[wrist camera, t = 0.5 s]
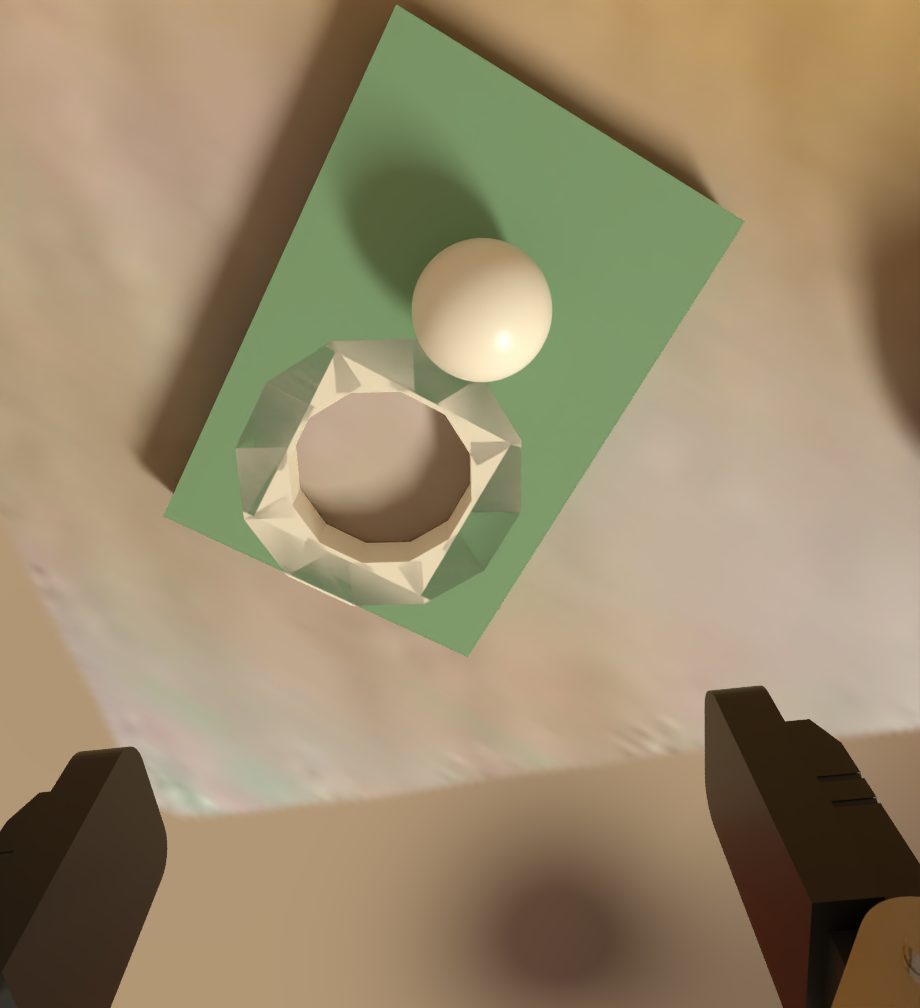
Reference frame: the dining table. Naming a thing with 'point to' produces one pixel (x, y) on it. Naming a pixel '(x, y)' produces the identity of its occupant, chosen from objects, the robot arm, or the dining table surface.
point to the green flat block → (395, 348)
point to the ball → (481, 310)
